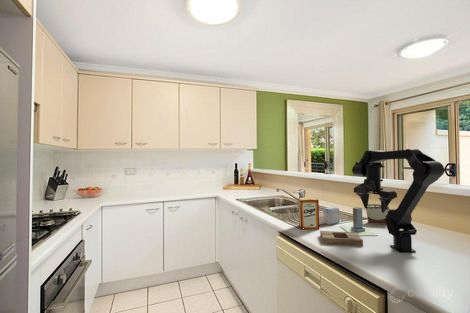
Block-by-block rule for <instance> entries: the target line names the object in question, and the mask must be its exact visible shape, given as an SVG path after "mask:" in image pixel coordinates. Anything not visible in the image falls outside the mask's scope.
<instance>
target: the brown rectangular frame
mask: <svg viewBox="0 0 470 313" xmlns="http://www.w3.org/2000/svg"><path fill="white" fill-rule="evenodd" d="M319 232H320V235H319V236H320V238H321V240H322V243H323V244H324V245H338V246H339V245H340V246H355V247H357V246H358V247H363V246H364V241H363V239H362V238H361V236H359V235H358V234H357V233H355V232H346V231H334V230H333V231H329V230H319Z"/></svg>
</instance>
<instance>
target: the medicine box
mask: <svg viewBox="0 0 470 313" xmlns="http://www.w3.org/2000/svg"><path fill="white" fill-rule="evenodd" d="M322 213H323V215H322V218H323V223H324V224H326V223H327V225H335V224H338V223H340V208H338V207H337V206H329V207H323V209H322Z"/></svg>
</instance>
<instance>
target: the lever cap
mask: <svg viewBox="0 0 470 313" xmlns="http://www.w3.org/2000/svg"><path fill="white" fill-rule="evenodd" d="M352 226H353V227H351V230H352V231H355V232H363V231H365V228H366V227H365V228H363V226H364V225H363V208H362V207H352Z"/></svg>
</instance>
